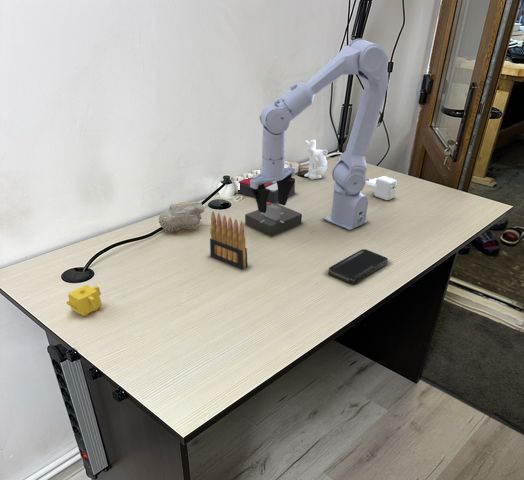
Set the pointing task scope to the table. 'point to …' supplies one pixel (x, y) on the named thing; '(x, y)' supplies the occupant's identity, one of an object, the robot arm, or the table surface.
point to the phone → (357, 266)
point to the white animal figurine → (316, 161)
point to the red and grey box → (271, 186)
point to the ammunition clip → (228, 242)
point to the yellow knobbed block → (85, 299)
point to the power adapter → (383, 187)
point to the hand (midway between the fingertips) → (272, 208)
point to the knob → (273, 211)
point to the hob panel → (273, 221)
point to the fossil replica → (181, 216)
